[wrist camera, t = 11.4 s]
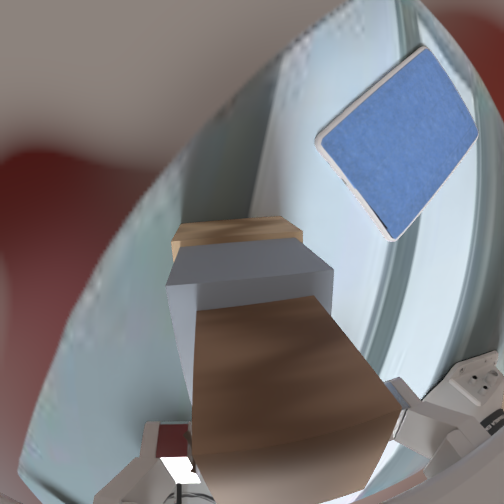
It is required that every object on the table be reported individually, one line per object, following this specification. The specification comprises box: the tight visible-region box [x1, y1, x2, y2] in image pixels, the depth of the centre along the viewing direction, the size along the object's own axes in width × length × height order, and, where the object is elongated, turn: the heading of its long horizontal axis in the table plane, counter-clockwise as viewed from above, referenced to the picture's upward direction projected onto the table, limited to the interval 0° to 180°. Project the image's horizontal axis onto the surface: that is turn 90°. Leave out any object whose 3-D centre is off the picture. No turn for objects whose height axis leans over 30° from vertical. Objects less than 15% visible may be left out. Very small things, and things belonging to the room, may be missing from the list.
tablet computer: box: [314, 46, 479, 242], centre depth 23 cm, size 19×13×1 cm, turn 134°
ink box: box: [163, 473, 216, 504], centre depth 26 cm, size 8×5×12 cm, turn 136°
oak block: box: [171, 216, 303, 261], centre depth 21 cm, size 8×8×6 cm
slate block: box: [166, 237, 334, 405], centre depth 15 cm, size 7×7×6 cm
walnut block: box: [192, 295, 402, 504], centre depth 9 cm, size 5×5×7 cm
